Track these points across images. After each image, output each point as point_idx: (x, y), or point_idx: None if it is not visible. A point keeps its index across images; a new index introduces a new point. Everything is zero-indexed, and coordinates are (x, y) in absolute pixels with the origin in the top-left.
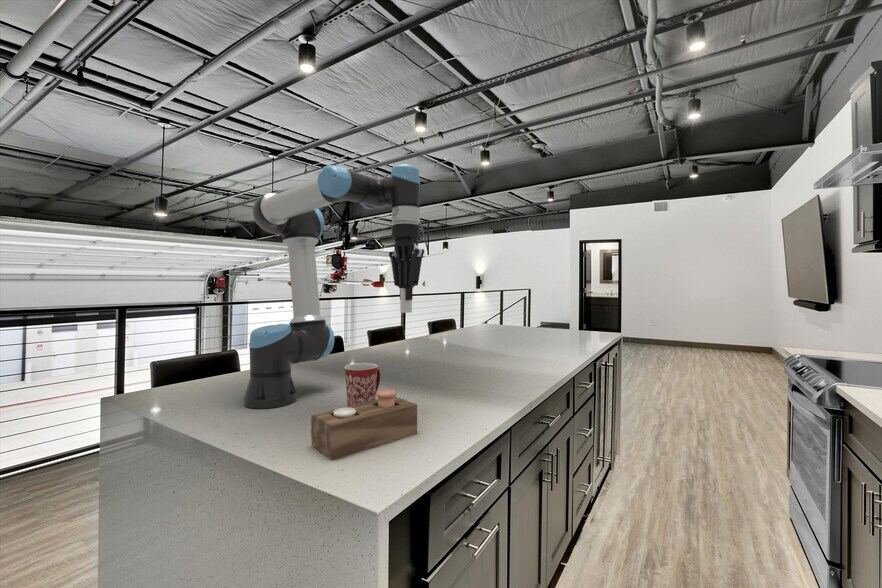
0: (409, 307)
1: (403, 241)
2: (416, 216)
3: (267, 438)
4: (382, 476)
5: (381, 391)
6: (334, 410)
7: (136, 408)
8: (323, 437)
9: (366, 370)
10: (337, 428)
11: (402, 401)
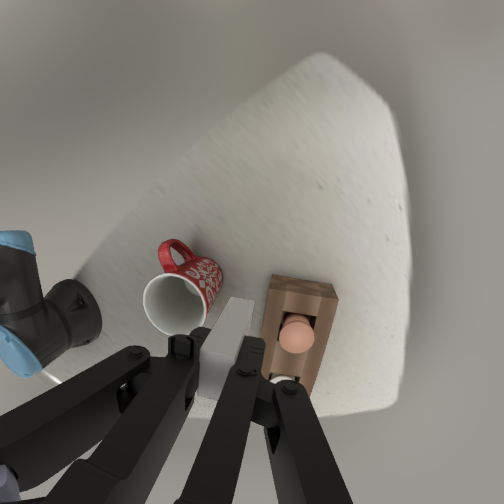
0: (249, 321)
1: None
2: None
3: (196, 390)
4: (369, 380)
5: (288, 342)
6: None
7: (47, 383)
8: None
9: (205, 319)
10: None
11: (307, 303)
